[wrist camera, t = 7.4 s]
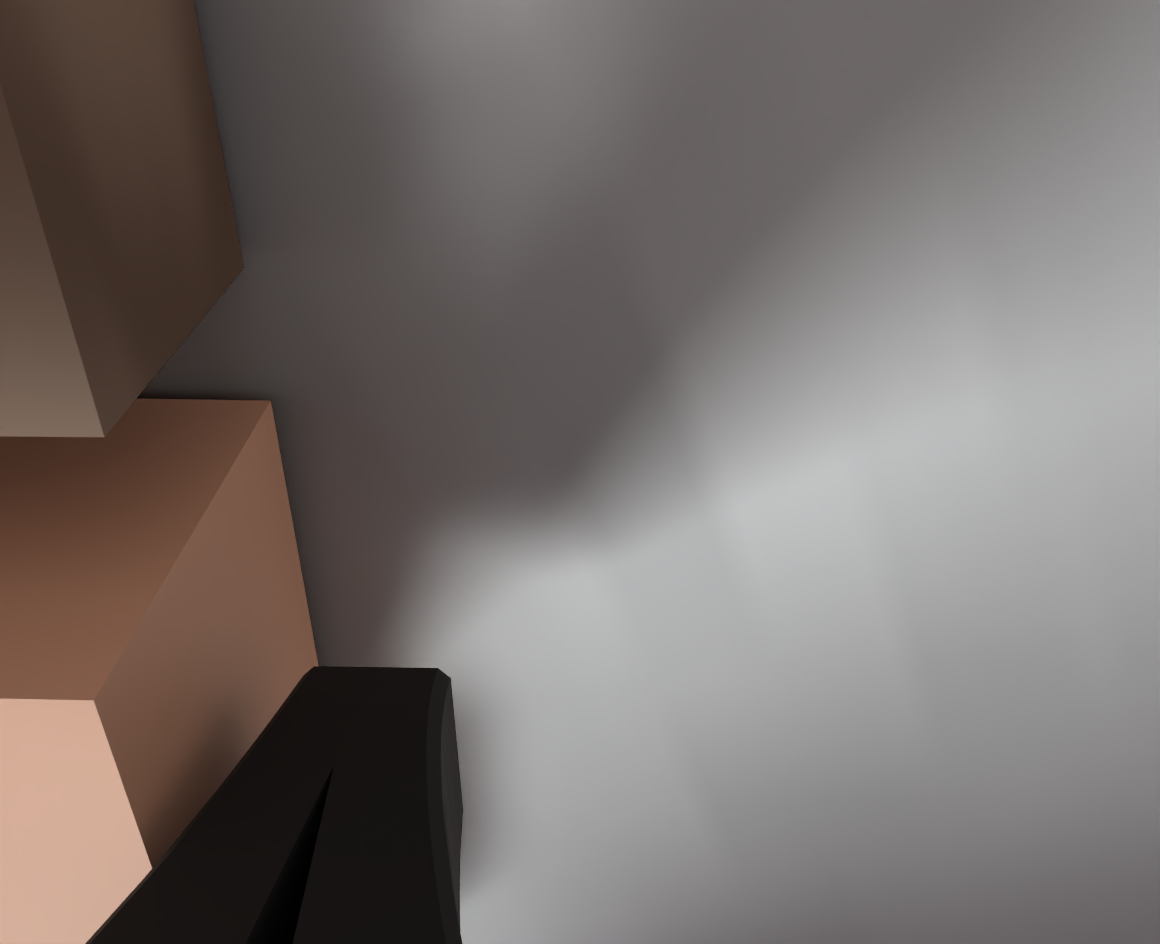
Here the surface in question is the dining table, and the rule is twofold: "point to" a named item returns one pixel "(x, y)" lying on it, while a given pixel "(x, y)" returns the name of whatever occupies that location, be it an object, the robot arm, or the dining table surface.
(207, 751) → the key block
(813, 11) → the dining table surface
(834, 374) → the dining table surface
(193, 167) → the tray
